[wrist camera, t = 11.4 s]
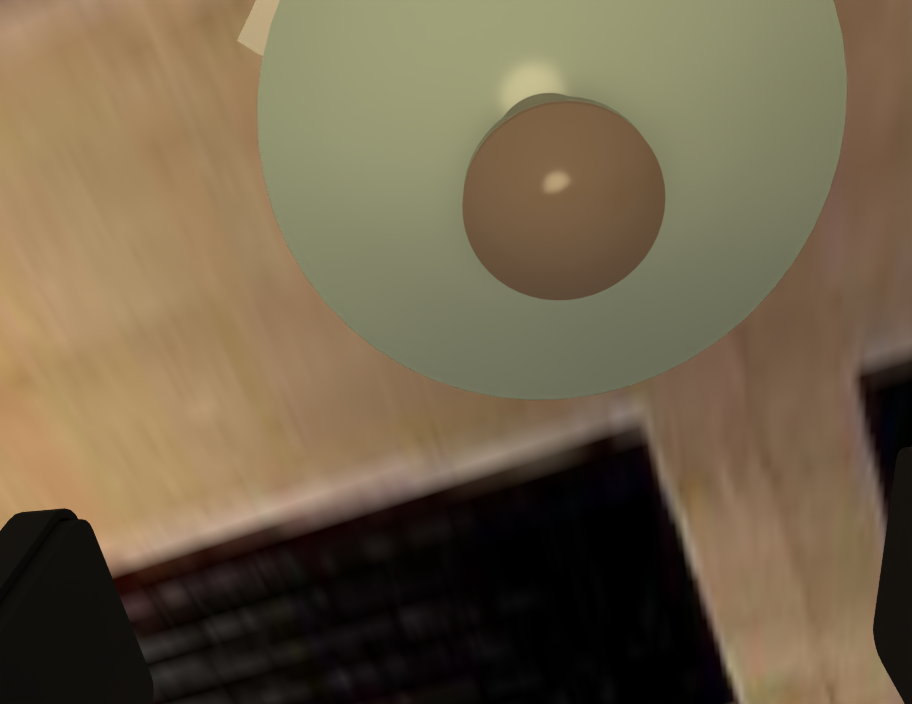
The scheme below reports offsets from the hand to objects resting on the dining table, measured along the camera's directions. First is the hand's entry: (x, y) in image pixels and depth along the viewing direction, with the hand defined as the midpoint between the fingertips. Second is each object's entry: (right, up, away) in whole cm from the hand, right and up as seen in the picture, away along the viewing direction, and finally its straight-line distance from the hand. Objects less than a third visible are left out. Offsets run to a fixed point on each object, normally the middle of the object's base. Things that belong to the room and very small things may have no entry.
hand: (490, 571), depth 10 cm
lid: (+2, +9, +14) cm, 17 cm away
